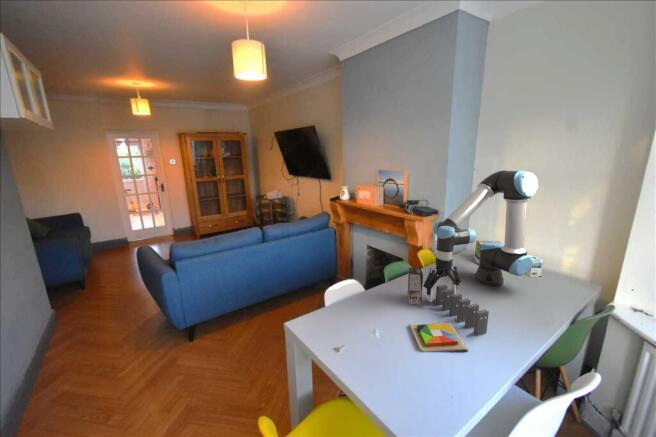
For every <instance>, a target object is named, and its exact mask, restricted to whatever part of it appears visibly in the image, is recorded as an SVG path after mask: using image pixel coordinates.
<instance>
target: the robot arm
mask: <svg viewBox="0 0 656 437" xmlns="http://www.w3.org/2000/svg"><path fill="white" fill-rule="evenodd" d="M538 180H539V179H538V178H537V176H536V175H535V174H534V173H532V172H530V171H525V170H524V171H523V170H499V171H496V172H493V173H491V174H489V175H488V176H487V177H485V178H484V179H483V180H481V182H479V183H478V185H477V186H476V187H477V188H476V189H475V190H474V191H473V192H472V193H471V194H470V195H469V196H468V197H467V198H466V199H465V200H463V202H462V203H461V204H460V205H458V207H456V209H454V211H453V212H452V213H451V214H449V215H448V216H447V217H446V218H445V219H444V220H443V221H438V222H435V223H434V225H433V228H432V230H433V233H434V234H435V235H436V250H435V268H432V267H431V268H429V273H428V274H427V277H426V279H425V281H424V284H422V288H423V287H424V288H425V289H426V295H427V298H426V299H427V300H428V301H429V302H430V303H432V302H433V294H434V293H433V292H434V289H433V287H434V286H435V285H436V284H437V281H439V280H440V279H441V278H444V277H448V278H449V279H450V281H451V282H452V283H450V284H451V285H450V289H453V290H455V293H454V294H457V292H456V291H457V290H458V286H459V285H460V284H461V283H462V280H461V277H460V274H459V273H458V266H456V265H454V264H453V261H454V260H453V258H454V246H461V245H469V244H473V243H474V242H475V241H477V240H476V239H477V233H476V231H475V230H474V229H473V228H472V227H471V228H470V227H465V228H462V227H461V225H463V224H464V223H465V222H466V221H467V220H468V219H469V218H470V217H471V216H472V215H473V214H474V213H475V211H477V210H478V209H479V208H480V207H481V206H482V205H483V204H484V203H486V201H487V200H488V199H489V198H493V197H494V196H495V195H497V194H503V200H504V201H505V202H506V205H505V206H506V207H505V227H504V228H505V229H504V243H502V242H501V243H497V242H486V243H483V244H482V245H481V249H480V257H479V265H478V267H477V269H476V271H475V272H474V277H473V278H474V281H475V282H477V283H478V284H480V285H481V284H482V285H484V286H489V287H499V286H500V287H501V286H502V285H504V281H505V279H504V277H503V271H504V272H506V273H508V274H510V275H514V276H517V277H521V276H524V275H526V274H525V273H527V272H528V271H529V269H530V268H531V265H532V259H531V257H529V256H527V255H528V249H527V248H526V247H525V234H526V220H527V218H526V217H527V204H528V202H529V200H531V199H532V196H534V195H535V194H536V191H538V187H539V181H538Z"/></svg>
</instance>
